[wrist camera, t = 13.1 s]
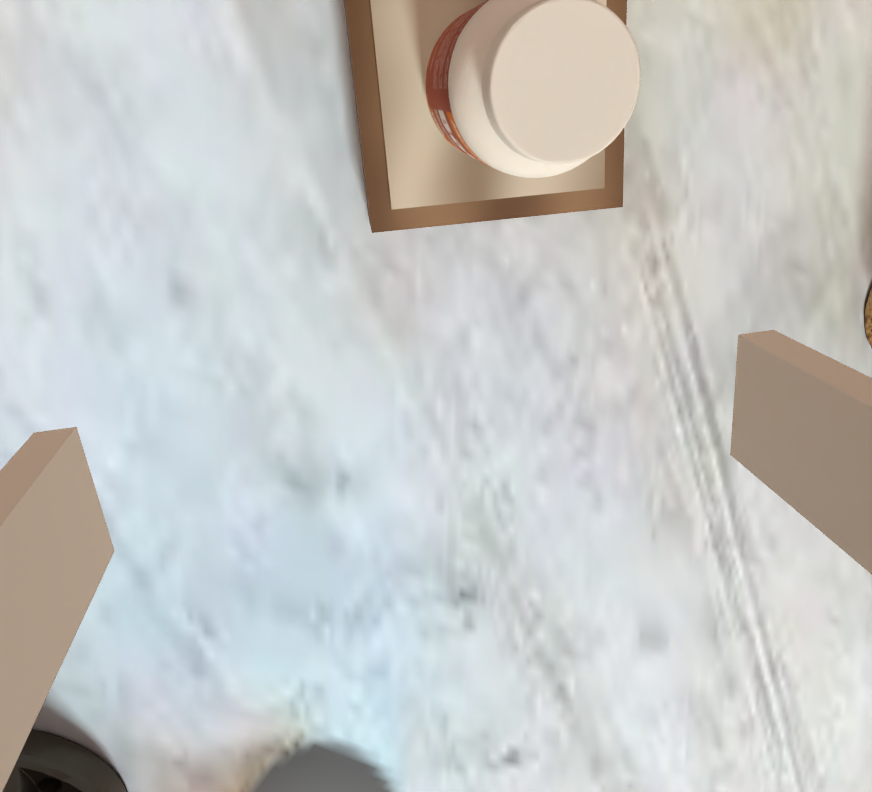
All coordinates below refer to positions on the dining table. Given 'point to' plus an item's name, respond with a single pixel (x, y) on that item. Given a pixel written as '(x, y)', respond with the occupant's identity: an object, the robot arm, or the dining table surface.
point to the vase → (869, 318)
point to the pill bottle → (533, 83)
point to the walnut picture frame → (427, 148)
